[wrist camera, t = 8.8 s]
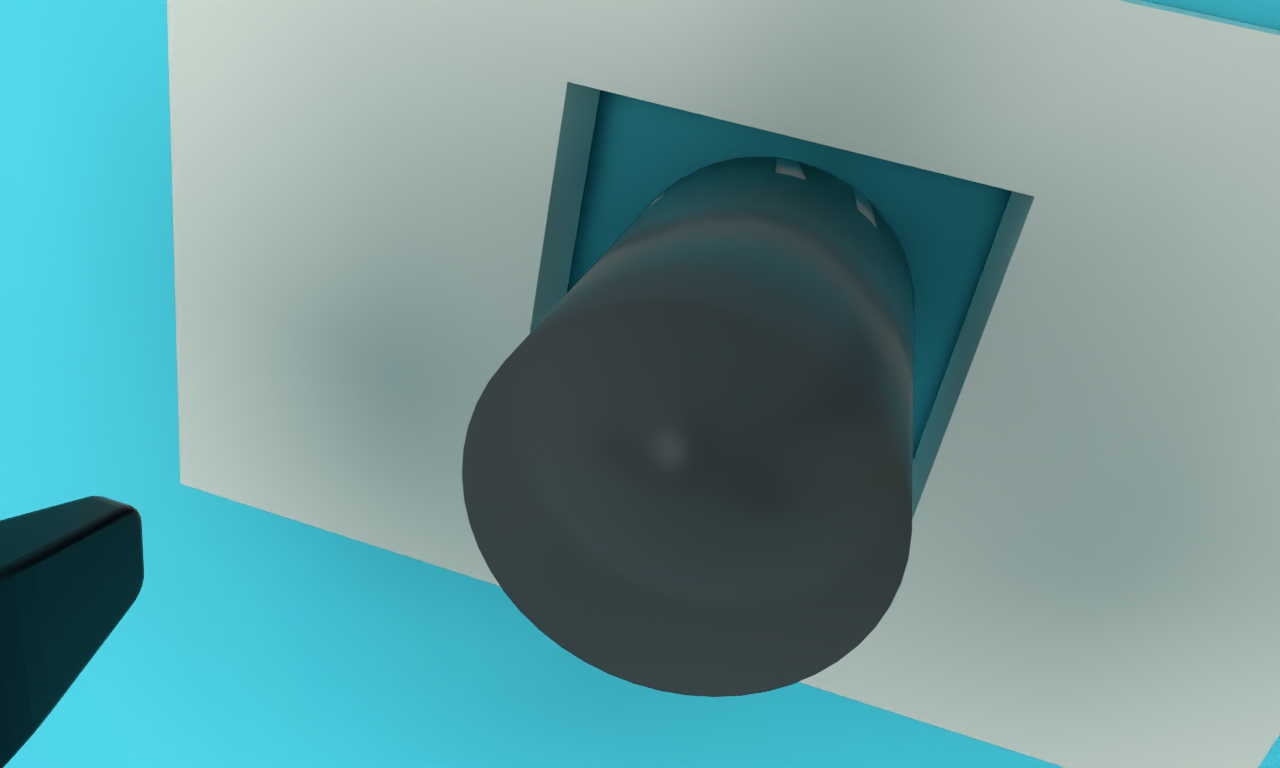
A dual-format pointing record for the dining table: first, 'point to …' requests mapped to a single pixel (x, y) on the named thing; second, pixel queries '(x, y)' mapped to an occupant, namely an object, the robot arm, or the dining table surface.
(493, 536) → the lens
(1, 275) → the dining table surface
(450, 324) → the panel with square recess
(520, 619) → the dining table surface
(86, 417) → the dining table surface
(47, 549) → the robot arm
